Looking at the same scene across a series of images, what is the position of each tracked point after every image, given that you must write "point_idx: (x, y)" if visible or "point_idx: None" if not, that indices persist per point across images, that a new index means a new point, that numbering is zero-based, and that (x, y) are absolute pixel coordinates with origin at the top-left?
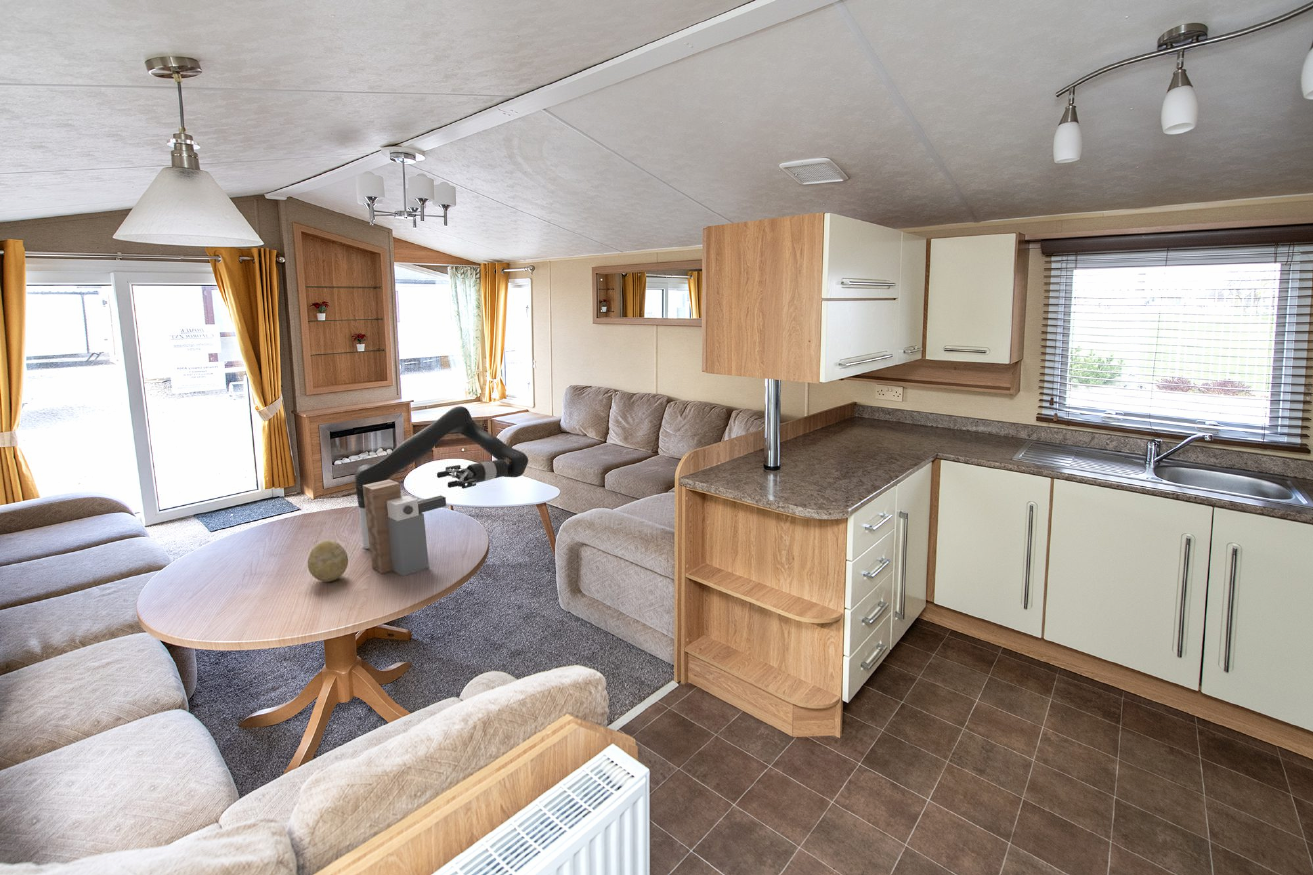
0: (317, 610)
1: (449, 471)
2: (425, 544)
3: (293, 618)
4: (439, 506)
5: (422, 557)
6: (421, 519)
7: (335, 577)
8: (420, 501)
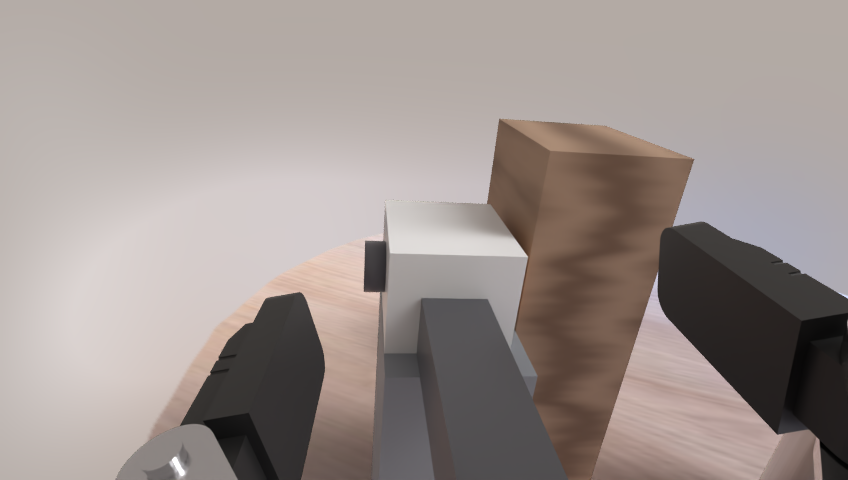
0: (347, 304)
1: (845, 379)
2: None
3: (351, 281)
4: None
5: None
6: (382, 391)
7: None
8: (481, 335)
